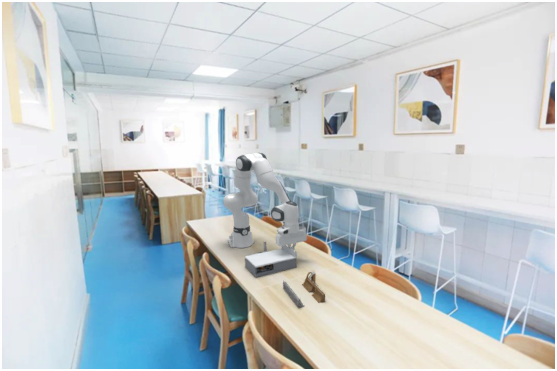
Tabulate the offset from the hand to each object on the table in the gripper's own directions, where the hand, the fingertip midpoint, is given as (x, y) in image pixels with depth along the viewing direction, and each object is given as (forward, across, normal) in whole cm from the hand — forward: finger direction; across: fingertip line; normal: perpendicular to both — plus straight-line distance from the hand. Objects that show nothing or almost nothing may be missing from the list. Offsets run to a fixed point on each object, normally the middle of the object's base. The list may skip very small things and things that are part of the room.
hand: (291, 250), depth 174 cm
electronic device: (+9, +14, -19) cm, 25 cm away
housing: (+9, +15, 0) cm, 17 cm away
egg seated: (+8, +13, 0) cm, 15 cm away
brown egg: (+8, +21, 0) cm, 22 cm away
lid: (+2, +15, 0) cm, 15 cm away
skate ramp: (+9, +8, +35) cm, 37 cm away
